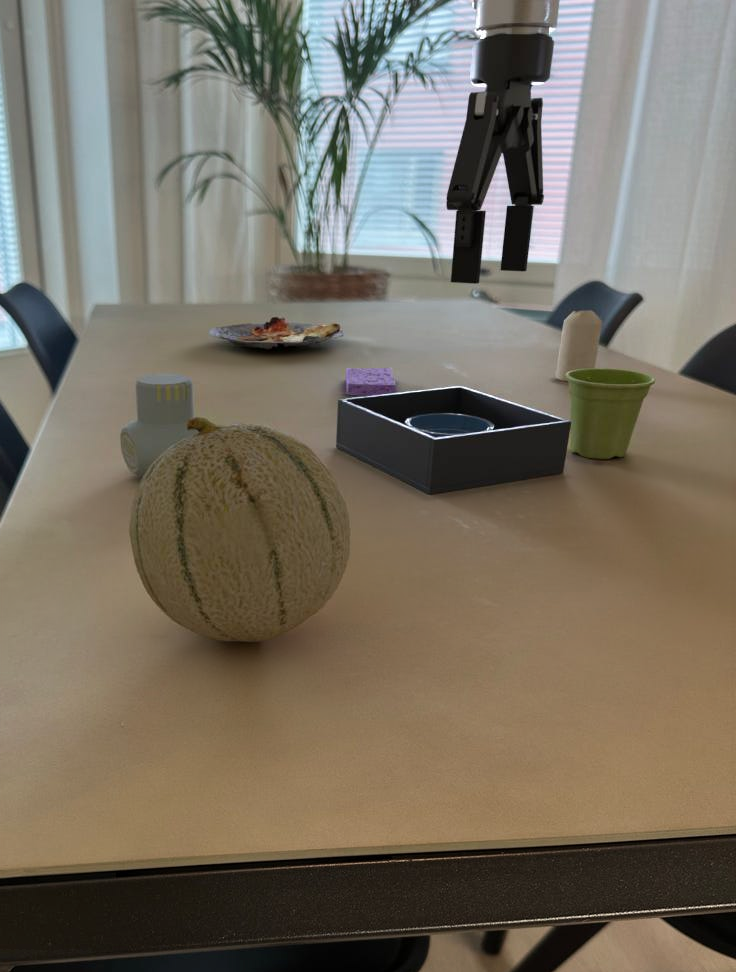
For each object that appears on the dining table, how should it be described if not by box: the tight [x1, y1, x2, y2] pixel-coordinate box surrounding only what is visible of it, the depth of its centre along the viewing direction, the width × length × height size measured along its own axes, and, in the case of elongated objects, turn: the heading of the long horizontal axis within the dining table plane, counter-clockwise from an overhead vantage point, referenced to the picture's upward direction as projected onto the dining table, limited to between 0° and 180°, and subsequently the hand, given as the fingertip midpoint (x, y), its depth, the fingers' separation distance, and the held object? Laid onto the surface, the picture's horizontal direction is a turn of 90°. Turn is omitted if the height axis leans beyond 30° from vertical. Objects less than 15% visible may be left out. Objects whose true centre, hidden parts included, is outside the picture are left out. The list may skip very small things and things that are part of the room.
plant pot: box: [566, 367, 656, 460], centre depth 103 cm, size 9×9×9 cm
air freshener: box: [119, 373, 198, 479], centre depth 95 cm, size 11×8×10 cm
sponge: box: [345, 367, 397, 397], centre depth 135 cm, size 7×13×2 cm, turn 176°
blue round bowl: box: [404, 413, 495, 438], centre depth 101 cm, size 10×10×4 cm
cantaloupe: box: [128, 416, 351, 643], centre depth 61 cm, size 15×15×15 cm
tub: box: [335, 385, 571, 495], centre depth 101 cm, size 19×17×6 cm
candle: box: [555, 309, 603, 382], centre depth 139 cm, size 6×6×10 cm
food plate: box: [207, 316, 344, 350], centre depth 168 cm, size 25×23×4 cm
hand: (490, 276), depth 96 cm, fingers open, 13 cm apart
